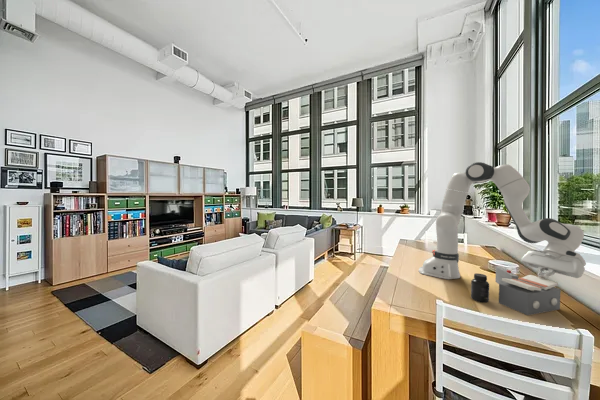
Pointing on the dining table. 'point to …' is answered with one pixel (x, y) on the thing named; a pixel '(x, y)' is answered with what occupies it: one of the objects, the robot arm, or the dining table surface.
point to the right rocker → (539, 281)
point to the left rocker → (522, 284)
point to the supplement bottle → (480, 288)
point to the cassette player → (504, 274)
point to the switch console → (529, 299)
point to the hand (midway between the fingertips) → (541, 276)
